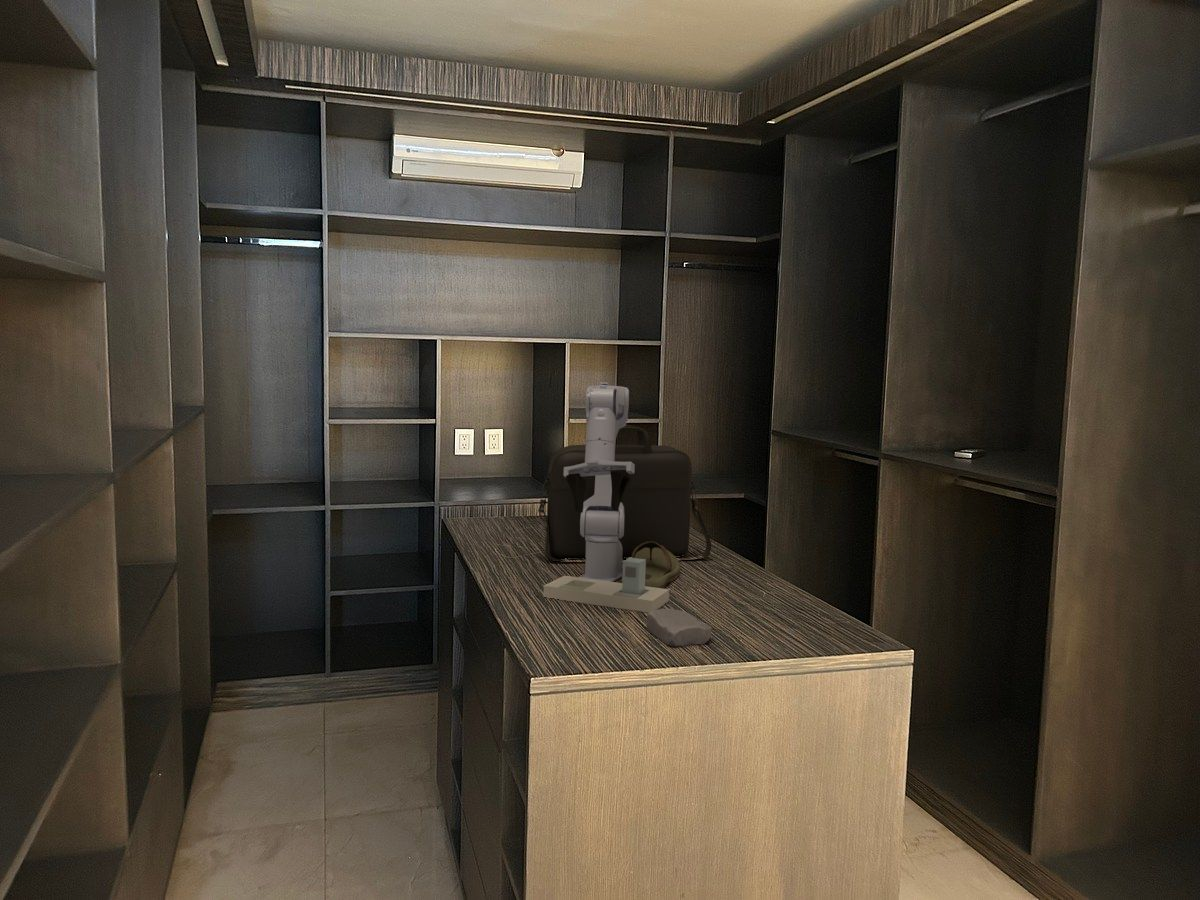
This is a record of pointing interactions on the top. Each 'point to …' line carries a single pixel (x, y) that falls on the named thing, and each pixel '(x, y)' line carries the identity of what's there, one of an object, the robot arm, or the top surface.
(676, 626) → the stone block
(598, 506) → the robot arm
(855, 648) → the top surface
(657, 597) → the jack block
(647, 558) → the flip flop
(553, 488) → the laptop bag
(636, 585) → the plug
